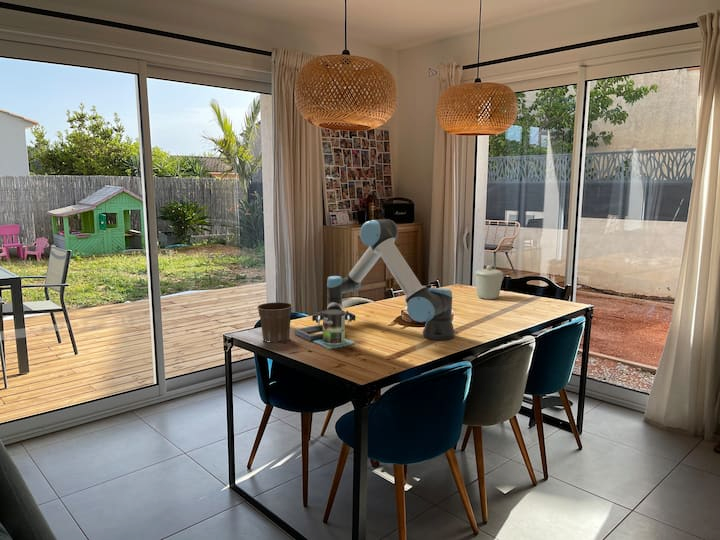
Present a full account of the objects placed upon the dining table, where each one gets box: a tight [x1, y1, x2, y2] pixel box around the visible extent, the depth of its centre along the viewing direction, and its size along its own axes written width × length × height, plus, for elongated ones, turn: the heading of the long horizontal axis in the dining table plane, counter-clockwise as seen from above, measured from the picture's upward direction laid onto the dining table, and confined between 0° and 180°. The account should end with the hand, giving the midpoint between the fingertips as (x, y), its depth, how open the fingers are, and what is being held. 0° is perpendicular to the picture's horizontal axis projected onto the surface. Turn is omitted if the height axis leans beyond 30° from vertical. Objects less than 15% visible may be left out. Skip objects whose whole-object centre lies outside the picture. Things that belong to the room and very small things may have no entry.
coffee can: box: [322, 309, 346, 345], centre depth 245 cm, size 10×10×14 cm
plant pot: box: [256, 301, 293, 343], centre depth 251 cm, size 16×16×16 cm
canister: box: [474, 264, 504, 300], centre depth 343 cm, size 18×18×21 cm
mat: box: [312, 338, 356, 350], centre depth 246 cm, size 14×14×1 cm
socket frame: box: [293, 324, 323, 343], centre depth 259 cm, size 15×15×2 cm
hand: (333, 322), depth 246 cm, fingers open, 13 cm apart
